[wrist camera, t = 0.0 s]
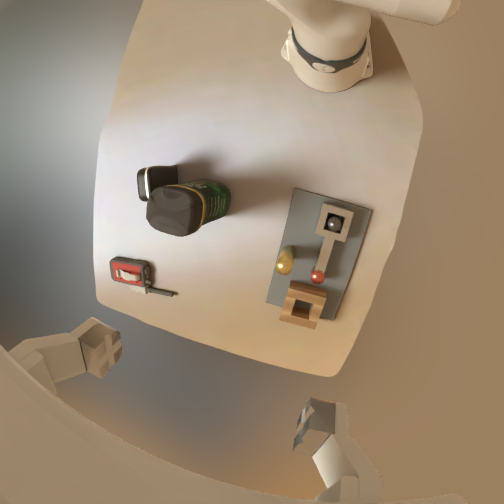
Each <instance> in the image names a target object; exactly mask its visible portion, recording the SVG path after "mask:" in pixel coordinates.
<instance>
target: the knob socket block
mask: <svg viewBox="0 0 504 504" xmlns="http://www.w3.org/2000/svg"><path fill="white" fill-rule="evenodd" d="M328 212H329V213H333V214H336V215H340V216H343V219H342V222H341V229H340V230H339V231H336V232H334V231H331V230H330V229H329V227H325V226H324V225H325V222H326V218H327V215H328ZM353 213H354V212H353V211H352V210H351V209H347V208H344V207H340V206H337V205H333V204H330V203H326V202H323V203H322V206H321V210H320V214H319V218H318V221H317V225H316V229H315V234H317V235H321V236H324V237H323V241H322V244H321V248H320V251H319V254H318V258H317V261H316V264H315V267H313V268H312V270H311V281H312V282H313V283H314V284H317V285H318V284H321V283H323V282H324V279H325V275H324V272H325V269H326V266H327V263H328V260H329V257H330V254H331V250H332V247H333V244H334V241H335V240H338V241H342V242H345V240H346V237H347V234H348V230H349V227H350V224H351V220H352V217H353Z"/></svg>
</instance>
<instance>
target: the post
mask: <svg viewBox="0 0 504 504" xmlns="http://www.w3.org/2000/svg"><path fill="white" fill-rule="evenodd" d="M327 221H328V226H329V229H330V230H331V231H334V232H336V231H339V230H340V229H341V222H340V219H339V217H338V216H337V215H336V214H331V215H329V216H328V219H327Z"/></svg>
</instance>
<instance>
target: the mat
mask: <svg viewBox="0 0 504 504" xmlns="http://www.w3.org/2000/svg"><path fill="white" fill-rule="evenodd" d="M323 202H326V203H330V204H333V205H337V206H340V207H344V208H347V209H351V210H352V211H353V212H354V213H353V217H352V220H351V224H350V227H349V230H348V234H347V237H346V240H345V242H342V241H338V240H335V241H334V244H333V247H332V250H331V254H330V257H329V260H328V263H327V266H326V269H325V272H324V275H325V279H324V282H323V283H321V284H318V285H317V284H314V283H313V282H312V281H311V270H312V268H313V267H315V264H316V261H317V258H318V254H319V251H320V248H321V244H322V241H323V237H324V236H321V235H317V234H315V229H316V225H317V221H318V218H319V214H320V210H321V206H322V203H323ZM370 213H371V210H369V209H366V208H363V207H360V206H356V205H353V204H350V203H346V202H343V201H339V200H336V199H332V198H329V197H325V196H322V195H318V194H314V193H311V192H307V191H303V190H299V189H294V193H293V197H292V201H291V205H290V209H289V213H288V218H287V222H286V226H285V230H284V234H283V238H282V242H281V246H280V250H279V254H278V258H279V256H280V253H281V251H282V249H283V247H284V246H286V245H291V246H293V247H294V248H295V250H296V255H295V260H294V264H293V268H292V271H291V273H290V274H288V275H285V276H283V275H280V274H278V273H277V271H276V268H275V269H274V273H273V277H272V281H271V285H270V288H269V292H268V296H267V300H266V303H270V304H273V305H277V306H280V307H283V305H284V302H285V298H286V295H287V292H288V288H289V285H290V281H291V280H292V281H296V282H299V283H303V284H307V285H310V286H314V287H318V288H321V289H325V290H326V297H327V298H326V301H325V304H324V307H323V309H322V312H321V315H320V317H321V318H325V319H329V320H333V319H334V317H335V314H336V312H337V309H338V307H339V304H340V302H341V299H342V297H343V294H344V291H345V289H346V286H347V283H348V281H349V278H350V275H351V272H352V269H353V267H354V264H355V261H356V258H357V255H358V252H359V249H360V246H361V243H362V240H363V237H364V233H365V230H366V227H367V224H368V220H369V217H370ZM331 214H333V213H329V212H328V215H327V218H326V222H325V225H324V226H325V227H329V226H328V221H327V219H328V216H329V215H331ZM337 216H338V217H339V219H340V222H342V219H343V216H340V215H337ZM278 258H277V261H278ZM276 263H277V262H276ZM275 266H276V265H275ZM311 305H312V303H308V302H305V301H301V300H297V299H296V300H295V303H294V306H295V307H298V308H302V309H306V310H310V308H311Z"/></svg>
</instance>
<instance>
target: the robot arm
mask: <svg viewBox="0 0 504 504" xmlns="http://www.w3.org/2000/svg"><path fill="white" fill-rule="evenodd" d="M265 1H267V2H269V3H270V4H272V5H274V6H275V7H276V8H278V9H279V10H280V11H282V12H283V13H284V14H285V15H287V16H288V17H289V19H290V21H291V24H292V29H289V32H288V35H289V36H288V38H287V40H286V42H285V44H284V46H283V48H282V50H281V56H282V57H283V58H284V59H285V60H286V61H288V62H289V63H290V64H291V65H292V67H293V69H294V71H295V73H296V75H297V76H298V77H299V78H300V79H301V80H302V81H303V82H304V83H305V84H307V85H308V86H310V87H312V88H314V89H316V90H320V91H324V92H339V91H343V90H346V89H348V88H350V87H351V86H353V85H354V84H355V83H356V82H358V81H359V80H361V79H366V78H369V77H371V76H372V75H373V62H372V52H371V43H370V35H369V28H370V25H371V15H370V11H369V9H370V10H374V11H377V12H380V13H383V14H386V15H389V16H393V17H398V18H402V19H407V20H411V21H416V22H421V23H424V24H429V25H438V24H441V23H443V22H445V21H447V20H449V19H450V18H451V17H452V16H454V14H455V13H456V12H457V11H458V9H459V7H460V5H461V2H462V0H265ZM367 66H368V67H369V68H367ZM120 339H121V335H120V332H119V331H118V330H116V329H114V328H112V327H110V326H108V325H107V324H105V323H103V322H101V321H99V320H97V319H95V318H94V317H92V318H89V319H88V320H86V321H85V322H84V323H83V324H81V325H80V326H79V327H77V328H76V329H75V330H73V331H72V332H71V333H70V334H68V333H63V334H57V335H51V336H45V337H39V338H33V339H26V340H24V341H23V342H21V343H20V344H19V345H17V346H16V347H15V348H13V349H12V350H11V351H9V352H7V351H5V349H4V348H3V347H2V346H1V345H0V504H468V502H467V501H465V499H464V498H462V497H461V496H460V495H459V494H455V493H454V494H447V495H442V496H436V497H430V498H424V499H417V500H408V501H398V502H382V489H381V476H380V474H379V473H378V472H377V470H376V469H375V467H374V466H373V465H372V463H371V462H370V461H369V459H368V458H367V457H366V455H365V454H364V453H363V451H362V450H361V448H360V447H359V446H358V444H357V443H356V442H355V440H354V439H353V437H351V436H348V406H347V404H343V403H337V402H332V401H326V400H321V399H316V398H309V400H308V401H307V403H306V408H305V409H303V410H302V412H301V414H300V416H299V419H298V422H297V427H296V431H297V433H298V434H297V436H296V437H295V439H294V444H293V450H292V451H293V452H296V453H300V454H305V455H310V456H312V457H313V460H314V462H315V464H316V466H317V468H318V470H319V472H320V474H321V476H322V478H323V480H324V482H325V485H326V487H327V490H326V491H324V492H323V493H322V494H320V495H319V496H317V497H316V498H315V501H313V500H304V499H297V498H290V497H284V496H278V495H273V494H268V493H263V492H258V491H253V490H250V489H246V488H241V487H238V486H234V485H231V484H227V483H224V482H220V481H217V480H214V479H211V478H208V477H205V476H202V475H199V474H196V473H194V472H191V471H188V470H186V469H183V468H181V467H178V466H175V465H173V464H171V463H168V462H166V461H164V460H162V459H160V458H157V457H155V456H153V455H151V454H149V453H147V452H145V451H143V450H141V449H138V448H137V447H135V446H133V445H131V444H129V443H127V442H125V441H124V440H122V439H120V438H118V437H116V436H115V435H113V434H111V433H110V432H108V431H106V430H105V429H103V428H101V427H100V426H98V425H97V424H95V423H93V422H92V421H90V420H89V419H87V418H86V417H84V416H83V415H81V414H80V413H78V412H77V411H76V410H74V409H73V408H71V407H70V406H69V405H67V404H66V403H65V402H63V401H62V400H60V399H59V398H58V397H57V396H55V395H56V394H57V391H56V388H55V386H54V384H53V383H56V382H59V381H61V380H64V379H67V378H70V377H73V376H76V375H79V374H82V373H84V372H86V371H88V372H90V373H91V374H93V375H95V376H97V377H99V378H100V379H102V378H103V377H104V375H105V374H106V373H107V372H108V371H109V370H110V366H111V365H114V364H116V363H117V362H118V361H119V359H120V357H121V353H122V345H121V344H120V342H119V340H120Z"/></svg>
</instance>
